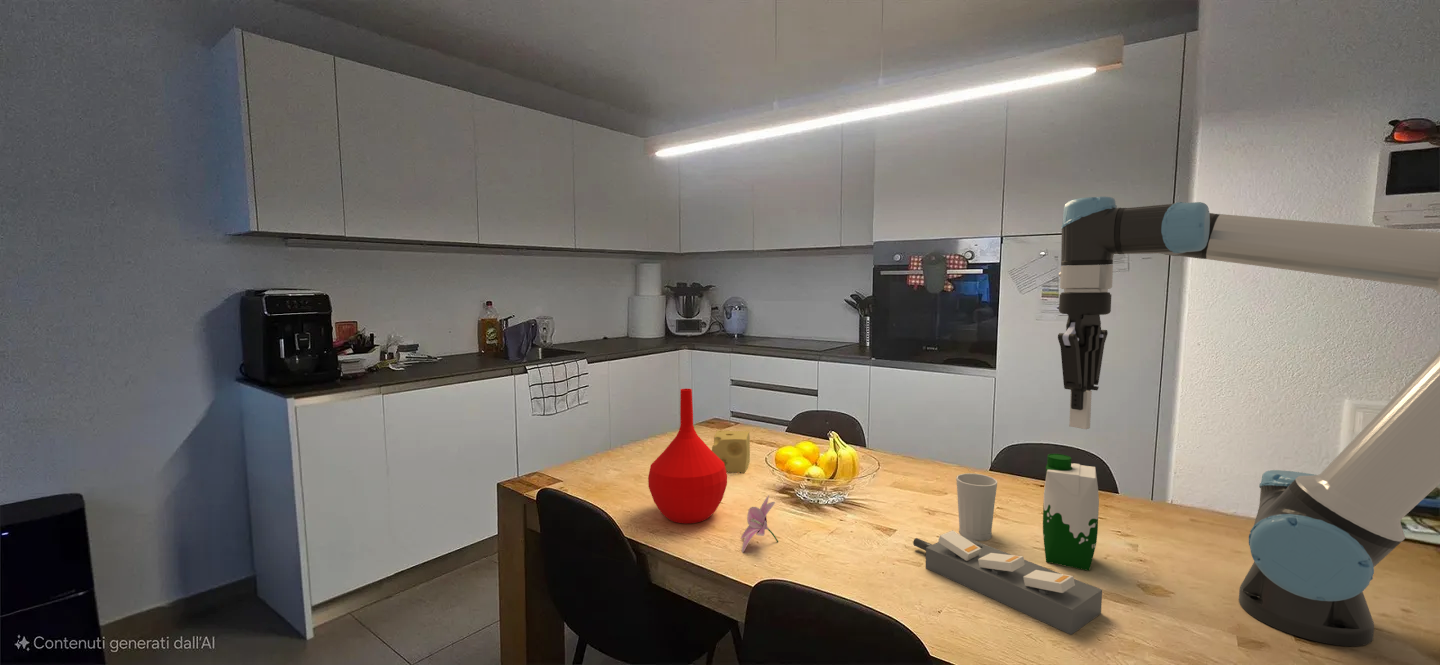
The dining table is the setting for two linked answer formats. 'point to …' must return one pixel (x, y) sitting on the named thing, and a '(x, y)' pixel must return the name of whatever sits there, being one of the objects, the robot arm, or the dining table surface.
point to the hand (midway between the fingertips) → (1079, 427)
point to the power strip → (1017, 587)
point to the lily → (757, 522)
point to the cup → (976, 505)
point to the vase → (687, 473)
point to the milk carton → (1070, 512)
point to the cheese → (733, 449)
